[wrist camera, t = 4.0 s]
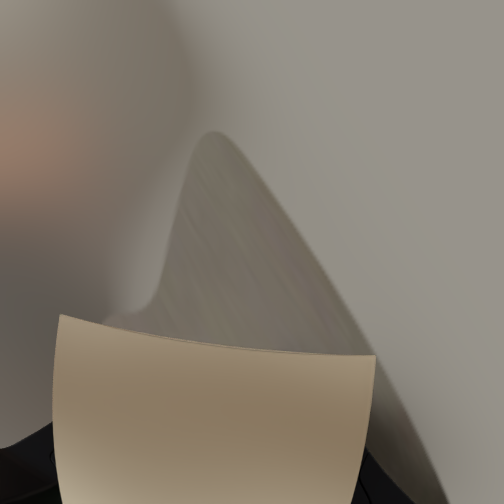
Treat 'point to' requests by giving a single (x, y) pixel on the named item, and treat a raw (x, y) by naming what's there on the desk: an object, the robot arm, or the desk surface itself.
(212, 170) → the desk surface
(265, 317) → the desk surface
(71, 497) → the maple block
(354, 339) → the desk surface
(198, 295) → the desk surface
